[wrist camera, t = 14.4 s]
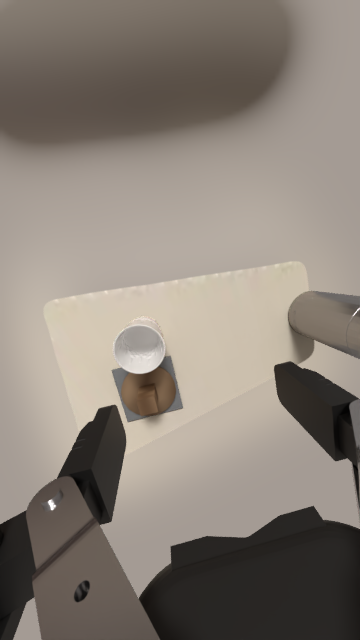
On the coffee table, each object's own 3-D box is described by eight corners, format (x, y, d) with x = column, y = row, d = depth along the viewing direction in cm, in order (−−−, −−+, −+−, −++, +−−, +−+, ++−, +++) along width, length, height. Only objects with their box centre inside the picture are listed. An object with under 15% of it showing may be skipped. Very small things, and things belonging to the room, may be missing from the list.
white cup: (171, 337, 43) (175, 355, 34) (139, 359, 44) (133, 383, 34) (148, 304, 42) (145, 314, 32) (115, 327, 42) (101, 343, 32)
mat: (170, 355, 44) (170, 356, 44) (182, 406, 47) (182, 407, 46) (112, 369, 44) (111, 370, 43) (127, 420, 46) (127, 421, 46)
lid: (169, 359, 44) (170, 372, 38) (180, 406, 46) (183, 424, 41) (115, 372, 43) (108, 386, 38) (129, 418, 46) (125, 439, 40)
